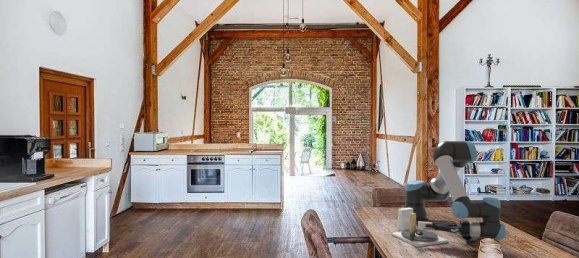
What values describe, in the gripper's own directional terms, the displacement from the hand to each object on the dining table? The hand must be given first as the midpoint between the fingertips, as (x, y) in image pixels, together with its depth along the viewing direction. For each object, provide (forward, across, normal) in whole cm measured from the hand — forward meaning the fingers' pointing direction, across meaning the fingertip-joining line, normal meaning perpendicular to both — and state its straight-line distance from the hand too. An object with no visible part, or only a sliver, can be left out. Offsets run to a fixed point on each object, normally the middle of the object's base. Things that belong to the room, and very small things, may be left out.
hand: (418, 224), depth 188 cm
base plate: (-1, +6, -9) cm, 11 cm away
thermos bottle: (-38, +30, -5) cm, 49 cm away
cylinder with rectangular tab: (+6, +22, -9) cm, 24 cm away
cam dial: (-1, +6, -8) cm, 10 cm away
